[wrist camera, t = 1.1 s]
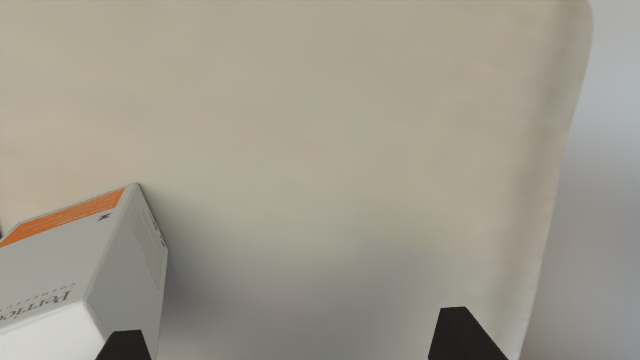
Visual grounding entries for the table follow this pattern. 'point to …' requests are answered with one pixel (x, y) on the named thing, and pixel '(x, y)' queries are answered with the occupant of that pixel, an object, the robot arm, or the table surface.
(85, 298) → the skincare box
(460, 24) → the table surface
